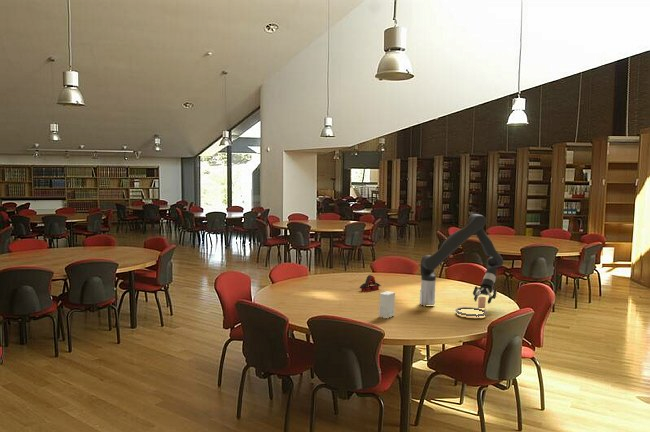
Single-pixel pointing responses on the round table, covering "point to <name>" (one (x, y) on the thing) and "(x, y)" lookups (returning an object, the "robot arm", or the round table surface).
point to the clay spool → (481, 302)
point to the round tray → (471, 314)
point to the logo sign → (369, 288)
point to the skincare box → (387, 304)
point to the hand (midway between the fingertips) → (481, 301)
